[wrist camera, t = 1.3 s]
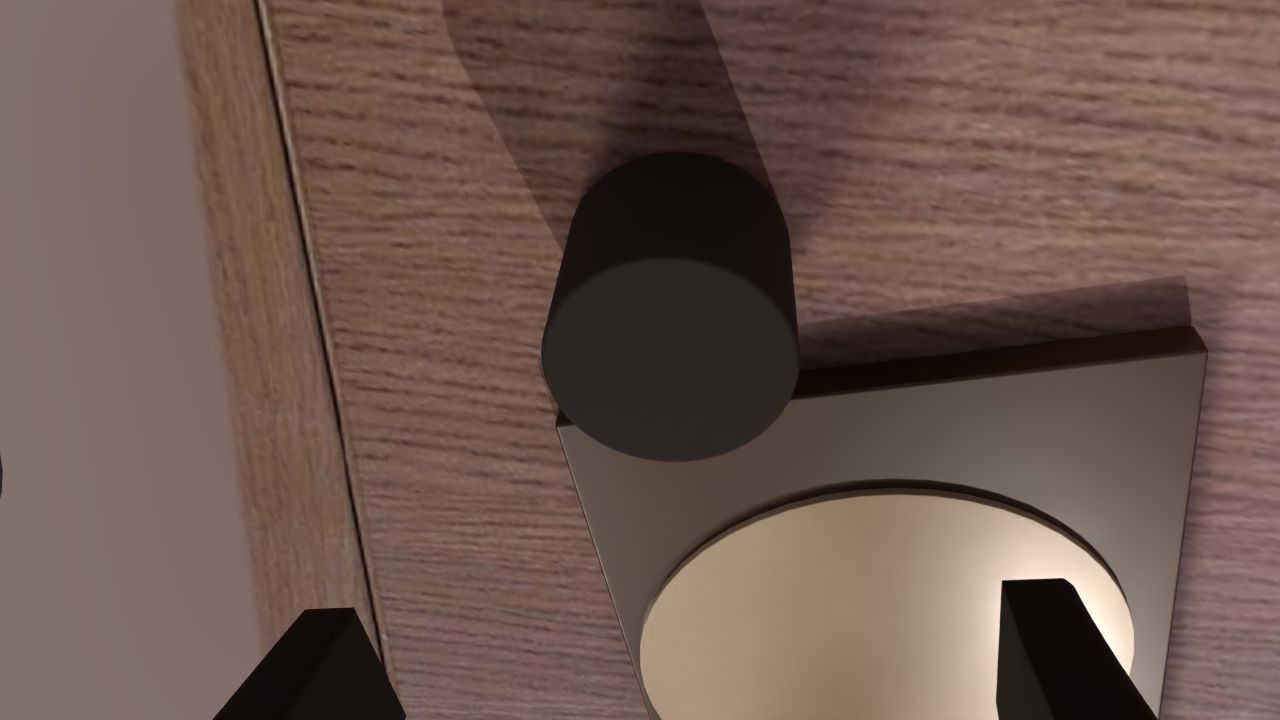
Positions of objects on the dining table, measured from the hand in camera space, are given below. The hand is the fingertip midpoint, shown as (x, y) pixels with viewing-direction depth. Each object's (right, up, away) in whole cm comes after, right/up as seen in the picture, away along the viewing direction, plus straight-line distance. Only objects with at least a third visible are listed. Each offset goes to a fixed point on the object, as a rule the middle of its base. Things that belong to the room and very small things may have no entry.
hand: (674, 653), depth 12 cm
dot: (0, +5, +7) cm, 9 cm away
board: (+5, -3, +13) cm, 14 cm away
